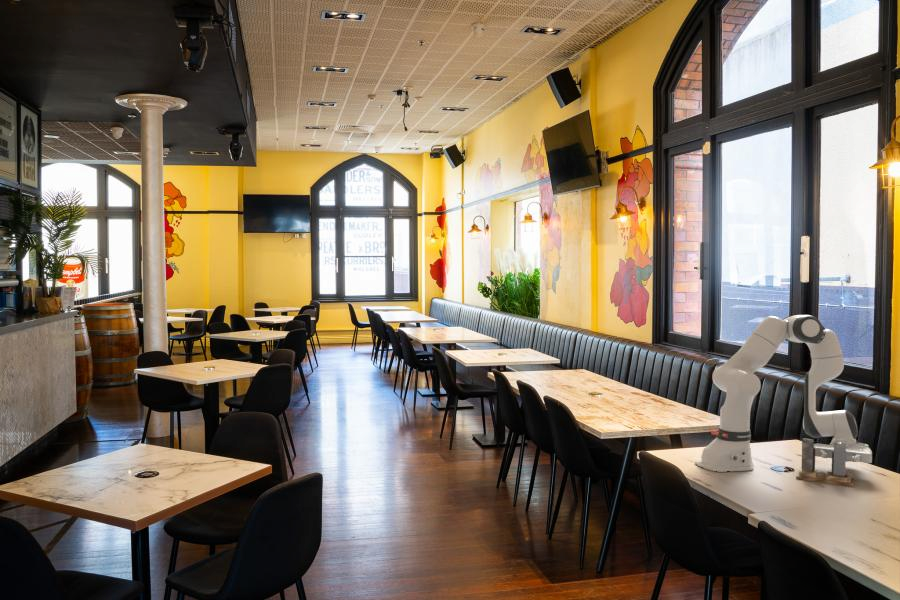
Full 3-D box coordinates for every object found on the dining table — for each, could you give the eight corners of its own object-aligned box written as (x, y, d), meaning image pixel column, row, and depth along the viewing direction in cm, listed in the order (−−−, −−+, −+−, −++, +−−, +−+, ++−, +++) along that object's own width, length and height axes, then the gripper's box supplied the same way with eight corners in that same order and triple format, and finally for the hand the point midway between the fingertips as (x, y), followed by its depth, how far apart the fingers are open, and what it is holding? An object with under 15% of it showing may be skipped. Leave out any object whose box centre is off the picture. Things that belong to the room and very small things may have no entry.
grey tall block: (831, 479, 258) (832, 442, 257) (832, 477, 261) (833, 440, 260) (844, 481, 256) (845, 444, 255) (845, 478, 258) (846, 442, 258)
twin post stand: (796, 478, 262) (796, 440, 261) (799, 473, 269) (800, 435, 269) (853, 487, 252) (854, 447, 251) (855, 480, 259) (856, 441, 259)
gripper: (811, 437, 274) (807, 445, 263) (873, 445, 263) (871, 453, 252) (811, 453, 275) (807, 462, 263) (872, 461, 264) (871, 470, 252)
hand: (839, 457), depth 257 cm, fingers open, 8 cm apart
